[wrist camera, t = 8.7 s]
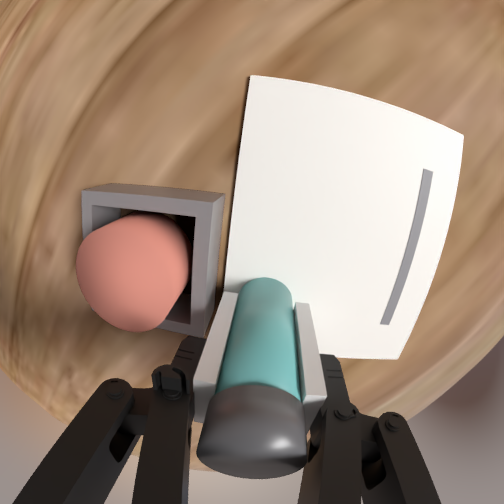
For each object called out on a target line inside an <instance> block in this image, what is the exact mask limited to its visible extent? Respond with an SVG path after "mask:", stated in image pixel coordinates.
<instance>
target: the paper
mask: <svg viewBox="0 0 504 504" xmlns="http://www.w3.org/2000/svg"><path fill="white" fill-rule="evenodd" d="M463 139H464V135H462V134H460V133H458V132H456V131H454V130H452V129H450V128H447V127H445V126H443V125H441V124H439V123H437V122H434V121H432V120H430V119H427V118H425V117H422V116H420V115H418V114H415V113H412V112H410V111H407V110H405V109H402V108H399V107H396V106H393V105H390V104H387V103H384V102H381V101H378V100H375V99H372V98H368V97H365V96H362V95H358V94H354V93H351V92H347V91H343V90H339V89H334V88H330V87H325V86H321V85H316V84H311V83H305V82H300V81H294V80H287V79H280V78H273V77H264V76H255V75H251V76H250V83H249V90H248V96H247V103H246V110H245V117H244V124H243V131H242V138H241V146H240V153H239V161H238V169H237V177H236V185H235V193H234V201H233V209H232V218H231V227H230V236H229V245H228V254H227V264H226V273H225V283H224V291H226V292H232V293H238V294H239V292H240V290H241V288H242V287H243V286H244V285H245V284H246V283H248V282H249V281H251V280H253V279H256V278H263V277H266V278H273V279H276V280H278V281H280V282H282V283H283V284H284V285H285V286H286V287H287V288H288V289H289V291H290V293H291V295H292V302H293V310H294V306H295V302H301V303H308V304H309V306H310V310H311V315H312V320H313V324H314V329H315V334H316V339H317V344H318V349H319V354H331V355H334V356H335V357H340V358H361V359H398V357H399V356H400V354H401V352H402V350H403V348H404V346H405V344H406V342H407V340H408V337H409V335H410V333H411V331H412V329H413V327H414V325H415V322H416V320H417V318H418V315H419V313H420V311H421V308H422V306H423V303H424V301H425V298H426V296H427V293H428V291H429V288H430V285H431V283H432V280H433V277H434V274H435V271H436V268H437V265H438V262H439V259H440V256H441V252H442V249H443V246H444V242H445V239H446V235H447V231H448V227H449V223H450V219H451V215H452V210H453V206H454V201H455V196H456V191H457V185H458V179H459V173H460V166H461V158H462V149H463Z"/></svg>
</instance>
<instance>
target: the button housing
mask: <svg viewBox="0 0 504 504" xmlns="http://www.w3.org/2000/svg"><path fill="white" fill-rule="evenodd" d="M224 201H225V194H224V193H215V192H207V191H198V190H189V189H179V188H168V187H157V186H145V185H132V184H117V183H110V184H106V185H102V186H98V187H93V188H89V189H85V190H82V229H83V240H84V239H85V238H86V237H87V236H88V235H89V234H90V233H92V232H93V231H95V230H97V229H99V228H101V227H103V226H105V225H107V224H110V223H112V222H114V221H116V220H118V219H120V208H126V209H135V210H144V211H152V212H161V213H169V214H177V215H185V216H193V217H196V220H195V234H194V249H193V268H192V291H191V295H189V294H184V293H181V294H180V296H179V297H178V299H177V301H176V302H175V304H174V305H173V307H172V308H171V310H170V312H169V313H168V315H167V316H166V318H165V319H164V320H163V322H162V323H161V324H159V325H158V326H157V327H155V328H159V329H163V330H168V331H172V332H177V333H181V334H186V335H191V336H196V337H201V338H204V335H205V332H206V330H207V327H208V324H209V322H210V319H211V316H212V314H213V311H214V306H215V294H216V282H217V270H218V259H219V249H220V239H221V229H222V219H223V210H224ZM92 310H93V308H92ZM93 311H94V310H93Z"/></svg>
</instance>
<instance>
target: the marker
mask: <svg viewBox="0 0 504 504" xmlns="http://www.w3.org/2000/svg"><path fill="white" fill-rule="evenodd" d="M196 454H197V457H198V458H199V460H200V461H201V462H202V463H203V464H205V465H206V466H208V467H209V468H211V469H213V470H215V471H218V472H220V473H223V474H227V475H231V476H235V477H240V478H249V479H268V478H277V477H282V476H286V475H289V474H292V473H294V472H297V471H298V470H300V469H301V468H303V467H304V466H305V465H306V463H307V460H308V455H307V437H306V422H305V410H304V406H303V404H302V403H301V391H300V378H299V365H298V354H297V342H296V332H295V321H294V311H293V302H292V295H291V293H290V291H289V289H288V288H287V287H286V286H285V285H284V284H283V283H282V282H280V281H278V280H276V279H273V278H266V277H263V278H256V279H253V280H251V281H249V282H248V283H246V284H245V285H244V286H243V287H242V288H241V290H240V292H239V294H238V299H237V305H236V309H235V313H234V317H233V321H232V325H231V329H230V333H229V337H228V341H227V346H226V350H225V354H224V358H223V362H222V366H221V370H220V374H219V379H218V383H217V387H216V391H215V395H214V396H213V397H212V398H211V400H210V401H209V404H208V407H207V411H206V415H205V419H204V423H203V427H202V431H201V435H200V439H199V443H198V447H197V451H196Z"/></svg>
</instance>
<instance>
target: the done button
mask: <svg viewBox="0 0 504 504" xmlns="http://www.w3.org/2000/svg"><path fill="white" fill-rule="evenodd" d="M192 268H193V250H192V246H191V244H190V241H189V239H188V237H187V235H186V234H185V232H184V231H183V229H182V228H181V227H180V226H179V225H178V224H177V223H176V222H175V221H174V220H173V219H171V218H170V217H168V216H166V215H164V214H162V213H160V212H152V211H144V210H141V211H136V212H133V213H131V214H129V215H127V216H124V217H122V218H120V219H118V220H116V221H114V222H112V223H110V224H107V225H105V226H103V227H101V228H99V229H97V230H95V231H93V232H92V233H90V234H89V235H88V236H87V237H86V238H85V239H84V240H83V242H82V243H81V245H80V248H79V250H78V253H77V259H76V273H77V279H78V282H79V286H80V288H81V291H82V293H83V295H84V297H85V299H86V300H87V302H88V303H89V305H90V306H91V307H92V308H93V310H94V311H95V312H96V313H97V314H98V315H99V316H100V317H101V318H103V319H104V320H105V321H107V322H108V323H110V324H111V325H113V326H115V327H117V328H120V329H123V330H126V331H131V332H144V331H148V330H151V329H153V328H155V327H157V326H158V325H159V324H161V323H162V322H163V320H164V319H165V318H166V316H167V315H168V313H169V312H170V310H171V308H172V307H173V305H174V304H175V302H176V301H177V299H178V297H179V296H180V294H181V293H182V291H183V290H184V288H185V287H186V285H187V283H188V282H189V280H190V278H191V276H192Z"/></svg>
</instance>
